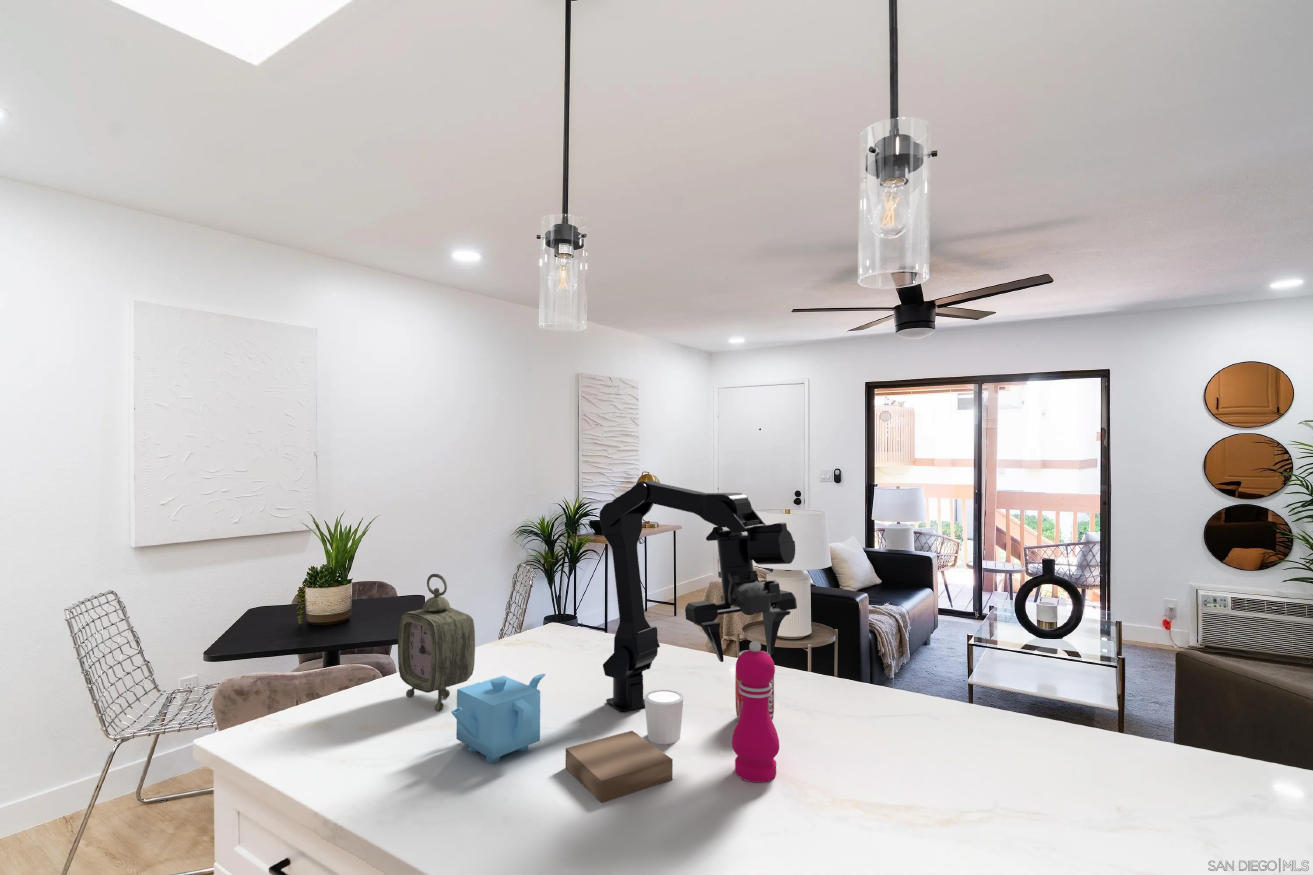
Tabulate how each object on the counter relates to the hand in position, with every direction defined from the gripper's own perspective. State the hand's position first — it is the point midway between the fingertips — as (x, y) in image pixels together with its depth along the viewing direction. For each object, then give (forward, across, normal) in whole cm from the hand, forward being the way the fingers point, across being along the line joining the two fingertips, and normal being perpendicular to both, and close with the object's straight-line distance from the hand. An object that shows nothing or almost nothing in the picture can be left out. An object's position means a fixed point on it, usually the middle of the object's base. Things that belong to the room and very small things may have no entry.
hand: (746, 657), depth 110 cm
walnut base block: (+13, -25, -4) cm, 28 cm away
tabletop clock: (+7, -53, +34) cm, 63 cm away
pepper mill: (+15, -4, -9) cm, 18 cm away
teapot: (+10, -41, +10) cm, 44 cm away
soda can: (+14, +4, +9) cm, 17 cm away
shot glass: (+13, -14, +6) cm, 20 cm away
